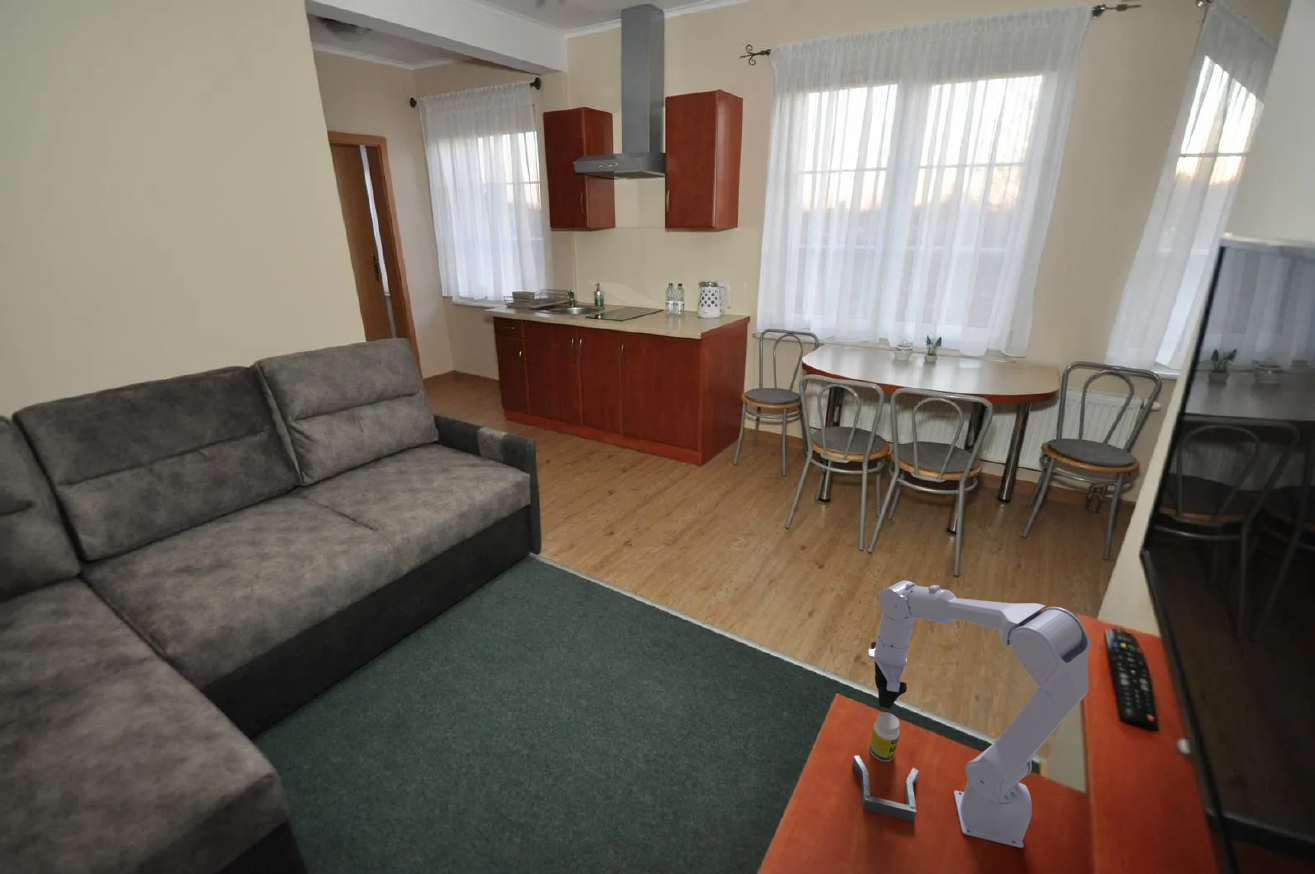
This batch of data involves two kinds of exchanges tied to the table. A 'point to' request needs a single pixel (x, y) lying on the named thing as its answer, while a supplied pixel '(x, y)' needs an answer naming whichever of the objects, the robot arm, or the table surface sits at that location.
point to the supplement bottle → (884, 737)
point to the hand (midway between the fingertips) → (882, 691)
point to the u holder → (883, 805)
